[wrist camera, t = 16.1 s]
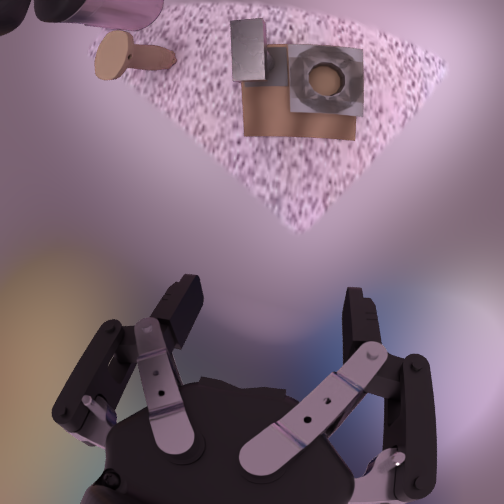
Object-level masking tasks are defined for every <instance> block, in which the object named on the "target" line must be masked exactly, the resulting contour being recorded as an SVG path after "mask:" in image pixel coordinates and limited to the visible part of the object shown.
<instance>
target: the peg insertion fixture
mask: <svg viewBox="0 0 504 504" xmlns="http://www.w3.org/2000/svg"><path fill="white" fill-rule="evenodd" d="M267 52H268V53H269V54H270V56H271V57H272V58H273V60H274V62H275V65H274V68H273V69H272V70H271V71H270V72H268V81H260V82H241V86H242V104H243V122H244V136H288V137H313V138H329V139H342V140H353V141H355V133H356V116H359V117H363V103H364V72H363V49H356V48H349V47H340V46H328V45H311V44H268V45H267Z"/></svg>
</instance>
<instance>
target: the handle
mask: <svg viewBox="0 0 504 504" xmlns="http://www.w3.org/2000/svg"><path fill="white" fill-rule="evenodd" d="M176 61H177V60H176V58H175V53H174V52H173V51H169V50H168V49H166V48H163V47H160V46H155V45H139V44H134V41H133V36H132V35H131V34H130V33H128V32H125V31H119V30H116V31H112V32H109V33H108V34H107V35H106V36H105V37H104V39H103V40H102V42H101V43H100V45H99V47H98V50H97V53H96V57H95V74H96V76H97V77H98V78H100V79H102V80H113V79H117V78H119V77H121V75H122V74H123V73H124V72H125V70H126V69H127V68H134V69H142V70H161V69H169V68H171V66H172V65H173V64H174V63H176Z"/></svg>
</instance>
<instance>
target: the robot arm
mask: <svg viewBox="0 0 504 504" xmlns="http://www.w3.org/2000/svg"><path fill="white" fill-rule="evenodd" d="M30 2H31V0H0V36H2V35H5V34H7V33H9V32H11V31H13V30H14V29H16V28H17V27H18V26H19V25H20V24H21V23H22V21H23V20H24V18H25V15H26V13H27V10H28V8H29V5H30ZM163 3H164V0H34V9H35V14H36V16H37V18H38V19H39V20H41V21H43V22H53V23H58V22H59V23H79V24H84V25H85V26H94V27H102V28H110V29H117V30H121V29H124V30H131V31H135V30H140V29H143V28H144V27H146V26H148V25H149V24H151V23H152V22H153V21H154V20H155V19H156V18H157V16H158V15H159V14H160V12H161V10H162V7H163ZM203 301H204V296H203V291H202V287H201V283H200V278H199V276H198V275H192V274H185V275H184V276H183V277H182V279H181V280H180V282H175V283H174V284H173V285H172V286H170V287H169V288H168V289H167V291H166V293H165V295H164V296H163V297H162V300H160V302H159V303H158V305H157V306H156V308H155V309H154V311H153V313H152V314H151V316H150V317H147V318H143V319H141V320H140V321H138V322H137V323H136V325H135V326H122V325H121V323H120V322H119V321H118V320H115V319H112V320H108V321H106V322H104V323H103V324H102V325H101V327H100V328H99V330H98V331H97V333H96V334H95V336H94V337H93V339H92V341H91V342H90V344H89V345H88V347H87V349H86V350H85V352H84V354H83V355H82V357H81V358H80V360H79V362H78V363H77V365H76V367H75V368H74V370H73V372H72V373H71V375H70V377H69V379H68V380H67V382H66V384H65V386H64V388H63V389H62V391H61V393H60V395H59V396H58V398H57V400H56V402H55V404H54V406H53V408H52V417H53V420H54V421H55V422H56V423H58V424H59V425H60V426H61V427H63V428H64V429H65V430H66V431H67V432H68V433H70V434H71V435H72V436H74V437H75V438H77V439H78V440H81V441H82V442H84V443H85V444H87V445H88V446H98V447H100V448H103V449H105V451H106V462H105V469H104V471H103V473H102V475H101V476H100V477H99V479H98V480H97V481H96V482H94V483H93V484H92V485H91V486H90V487H89V488H88V489H87V490H86V492H85V494H84V496H83V498H82V500H81V503H80V504H374V503H380V504H404V503H408V502H411V501H415V500H418V499H421V498H424V497H426V496H427V495H428V494H430V493H431V492H432V490H433V489H434V487H435V484H436V473H437V472H436V471H437V436H436V417H435V405H434V395H433V387H432V379H431V372H430V365H429V363H428V361H427V359H426V358H425V357H423V356H422V355H419V354H410V355H408V356H407V357H406V358H405V359H404V358H400V357H397V356H393V355H391V354H389V353H388V352H387V350H386V348H385V347H384V346H383V345H382V342H381V336H380V330H379V323H378V317H377V312H376V306H375V304H374V302H373V301H372V300H371V298H363V293H362V288H357V287H348V288H347V291H346V296H345V301H344V306H343V311H342V335H343V366H342V367H341V368H340V369H339V370H338V371H337V372H332V373H331V374H330V375H329V376H328V377H327V378H325V379H324V381H322V382H321V384H319V385H318V386H317V387H316V388H315V389H314V390H313V391H312V392H311V393H310V394H309V395H308V396H307V397H305V398H304V399H303V400H302V401H301V402H299V401H297V400H295V399H294V398H292V397H289V396H286V390H285V389H276V388H268V387H259V388H246V389H241V388H238V387H235V386H233V385H231V384H228V383H226V382H224V381H221V380H217V379H212V378H207V377H201V379H200V381H199V382H194V383H189V384H185V385H183V382H182V380H181V377H180V374H179V372H178V369H177V366H176V363H175V360H174V357H173V354H172V351H173V349H174V348H176V349H180V350H181V349H182V347H183V345H184V343H185V341H186V339H187V337H188V335H189V333H190V331H191V329H192V326H193V324H194V322H195V320H196V318H197V316H198V314H199V312H200V310H201V308H202V306H203ZM113 355H114V357H113ZM112 357H113V358H112ZM111 358H112V360H111ZM110 360H111V362H110ZM109 362H110V364H109ZM137 363H138V368H139V372H140V377H141V381H142V386H143V390H144V394H145V398H146V402H147V407H145V408H143V409H142V410H140V411H138V412H136V413H135V414H133V415H131V416H129V417H128V418H126V419H124V420H122V421H120V422H119V423H117V422H116V420H117V414H116V412H115V409H116V407H117V405H118V403H119V400H120V398H121V396H122V394H123V391H124V389H125V388H126V385H127V383H128V381H129V379H130V377H131V375H132V373H133V371H134V369H135V366H136V364H137ZM108 364H109V366H108ZM367 393H371V394H374V395H377V396H381V397H384V434H383V450H382V452H381V453H380V454H379V455H377V456H376V457H375V458H373V459H372V460H371V461H370V462H369V464H368V466H367V470H366V472H365V474H364V475H363V476H362V477H361V478H354V476H353V474H352V472H351V470H350V469H349V467H348V466H347V465H346V464H345V462H344V461H343V459H342V458H341V456H340V455H339V454H338V452H337V451H336V450H335V448H334V447H333V445H332V444H331V443H330V441H329V440H328V438H329V437H330V436H331V435H332V434H333V433H334V432H335V431H336V430H337V429H338V427H339V426H340V425H341V424H342V423H343V422H344V420H345V419H346V418H347V417H348V415H349V414H350V413H351V412H352V411H353V410H354V409H355V407H356V406H357V405H358V404H359V403H360V402H361V400H362V399H363V398H364V397H365V396H366V394H367Z"/></svg>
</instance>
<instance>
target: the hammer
mask: <svg viewBox="0 0 504 504" xmlns="http://www.w3.org/2000/svg"><path fill="white" fill-rule="evenodd" d="M230 25H231V51H232V75H233V81H234V82H238V83H240V82H260V81H268V72H270V71H271V70H272V69H273V68H274V65H275V62H274V60H273V58H272V57H271V56H270V54H269V53H268V52H267V37H266V23H265V22H264V20H263V18H256V19H244V20H234V21H230Z"/></svg>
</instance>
